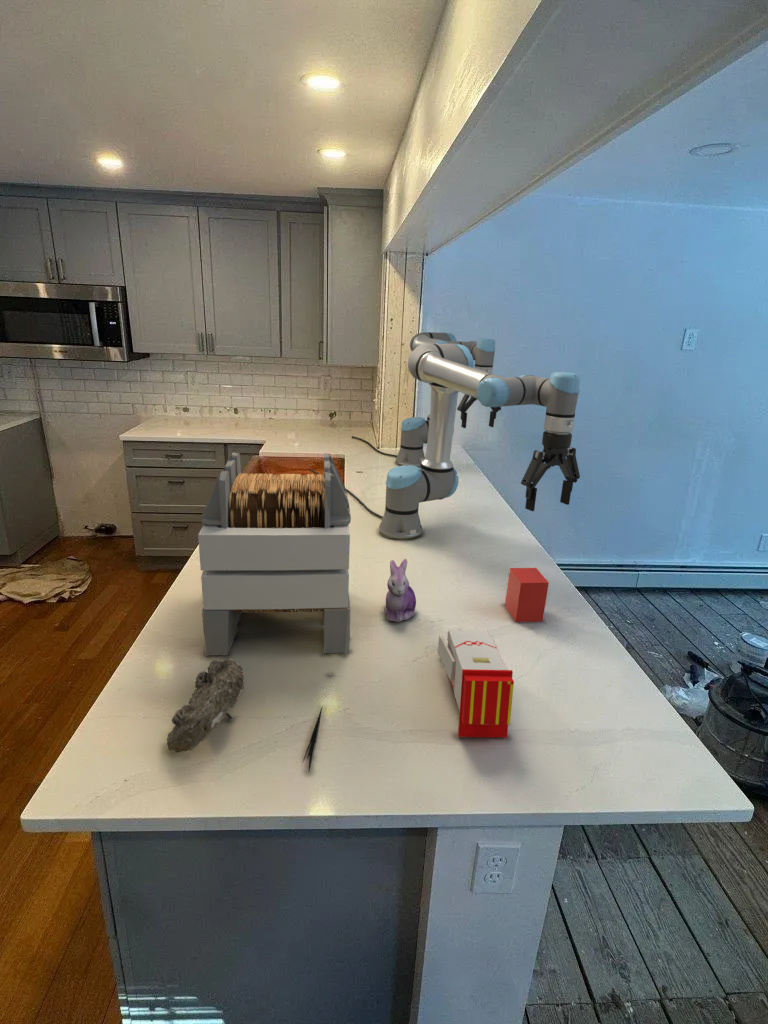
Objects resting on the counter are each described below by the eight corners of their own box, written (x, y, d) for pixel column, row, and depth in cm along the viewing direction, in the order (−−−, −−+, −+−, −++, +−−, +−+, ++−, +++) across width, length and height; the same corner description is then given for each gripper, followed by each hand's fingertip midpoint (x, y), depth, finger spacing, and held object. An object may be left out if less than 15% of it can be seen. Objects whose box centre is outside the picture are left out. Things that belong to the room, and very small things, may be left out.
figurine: (392, 627, 141) (395, 572, 136) (374, 608, 149) (376, 556, 144) (425, 619, 145) (429, 566, 140) (405, 601, 154) (408, 550, 149)
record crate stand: (226, 586, 157) (217, 442, 143) (344, 585, 161) (346, 445, 147) (202, 658, 125) (189, 482, 112) (350, 654, 129) (354, 483, 115)
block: (515, 622, 146) (520, 582, 142) (504, 605, 154) (509, 567, 150) (542, 621, 147) (548, 582, 143) (530, 604, 155) (536, 567, 151)
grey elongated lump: (192, 660, 117) (244, 628, 112) (224, 691, 120) (276, 661, 115) (142, 746, 98) (202, 712, 93) (182, 779, 101) (242, 748, 96)
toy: (488, 613, 130) (523, 677, 101) (484, 667, 133) (517, 744, 104) (435, 612, 130) (455, 676, 101) (432, 666, 133) (451, 743, 103)
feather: (331, 679, 122) (336, 673, 122) (307, 777, 96) (313, 769, 95) (324, 675, 122) (329, 669, 121) (298, 772, 95) (304, 764, 95)
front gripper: (533, 437, 143) (523, 516, 150) (600, 431, 155) (588, 504, 162) (513, 432, 149) (504, 508, 156) (579, 426, 161) (568, 497, 168)
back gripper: (460, 378, 230) (455, 429, 238) (512, 378, 239) (506, 427, 246) (452, 375, 237) (447, 426, 244) (503, 375, 245) (497, 424, 253)
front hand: (547, 506), depth 159 cm, fingers open, 13 cm apart
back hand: (477, 427), depth 245 cm, fingers open, 13 cm apart
